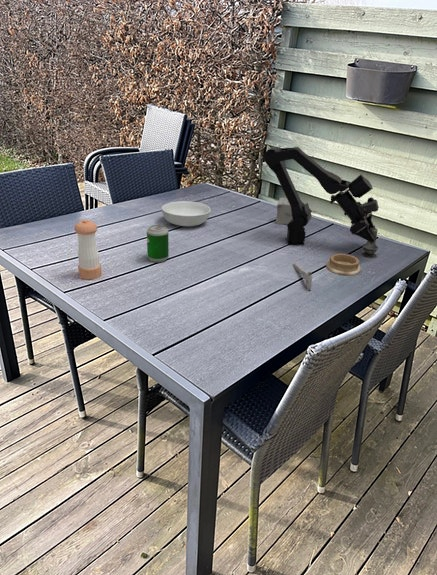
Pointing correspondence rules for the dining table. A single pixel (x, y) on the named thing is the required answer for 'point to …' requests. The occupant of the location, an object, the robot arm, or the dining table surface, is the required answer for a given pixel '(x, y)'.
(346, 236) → the dining table surface
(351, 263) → the dish
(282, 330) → the dining table surface
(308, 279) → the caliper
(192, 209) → the serving bowl
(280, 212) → the incense holder
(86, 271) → the pepper shaker
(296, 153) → the robot arm
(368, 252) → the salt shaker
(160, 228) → the soda can
